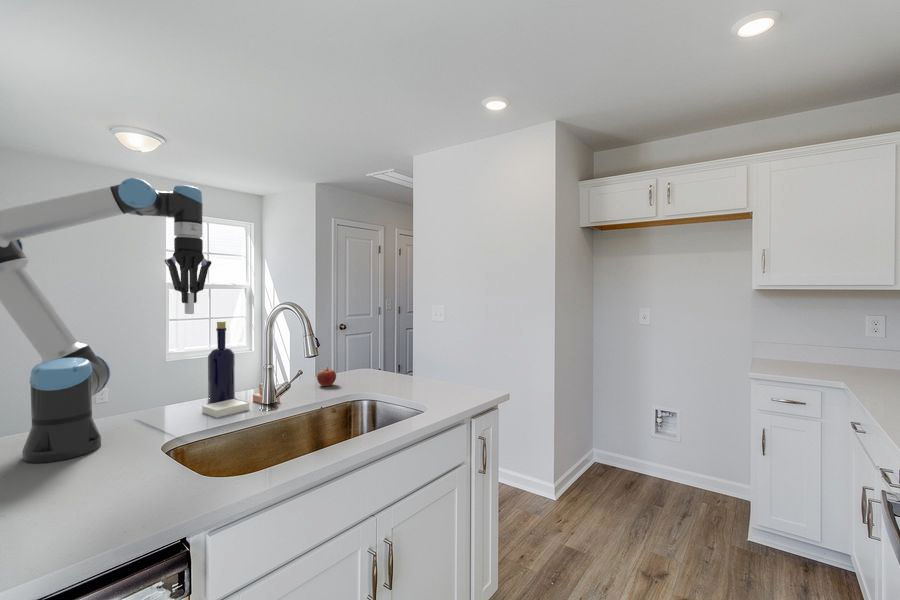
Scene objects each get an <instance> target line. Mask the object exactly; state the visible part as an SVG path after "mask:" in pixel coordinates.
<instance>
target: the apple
mask: <svg viewBox="0 0 900 600" xmlns="http://www.w3.org/2000/svg"><path fill="white" fill-rule="evenodd" d="M336 379H337V373H336V372H335V370H333V369H331V368H330V369H329V367H326V368H325V369H321V370H319V371H318V373H317V376H316V380H317V382H318V383H317V384H319V385H320V386H322V387H326V386H327V387H330V386H333V385H334V383H335V381H336Z"/></svg>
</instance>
